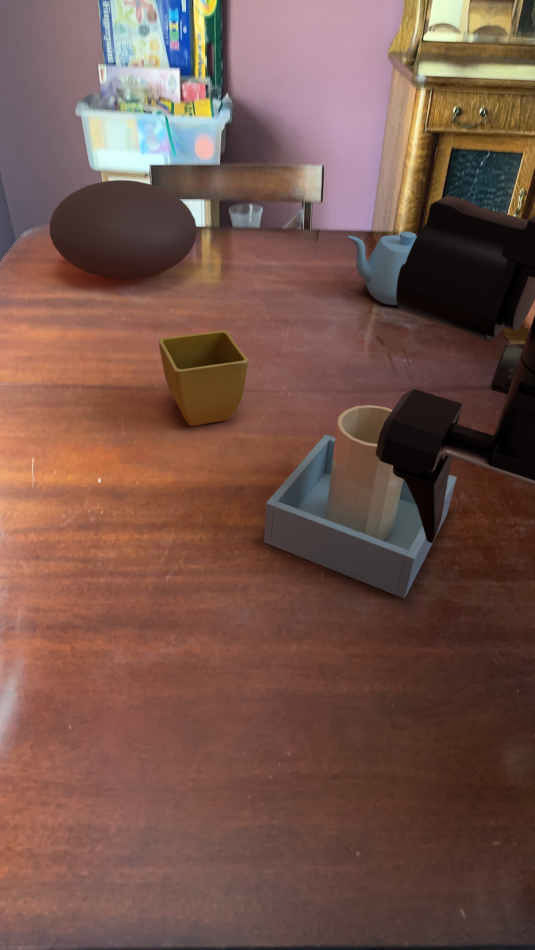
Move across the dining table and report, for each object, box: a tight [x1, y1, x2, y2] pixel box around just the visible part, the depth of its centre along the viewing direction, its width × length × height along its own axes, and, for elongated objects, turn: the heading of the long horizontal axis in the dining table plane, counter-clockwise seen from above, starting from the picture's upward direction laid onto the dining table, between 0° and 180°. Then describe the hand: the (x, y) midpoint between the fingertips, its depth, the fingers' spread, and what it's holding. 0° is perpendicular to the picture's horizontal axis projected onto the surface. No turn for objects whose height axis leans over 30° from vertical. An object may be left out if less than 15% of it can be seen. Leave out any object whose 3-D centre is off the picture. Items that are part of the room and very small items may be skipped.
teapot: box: [347, 231, 418, 306], centre depth 115 cm, size 13×11×18 cm
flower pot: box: [158, 330, 249, 427], centre depth 82 cm, size 9×9×9 cm
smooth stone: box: [49, 179, 198, 280], centre depth 117 cm, size 25×25×15 cm
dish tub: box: [263, 434, 458, 599], centre depth 67 cm, size 15×14×5 cm
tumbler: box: [325, 404, 403, 541], centre depth 65 cm, size 7×7×12 cm
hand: (494, 562), depth 47 cm, fingers open, 9 cm apart
